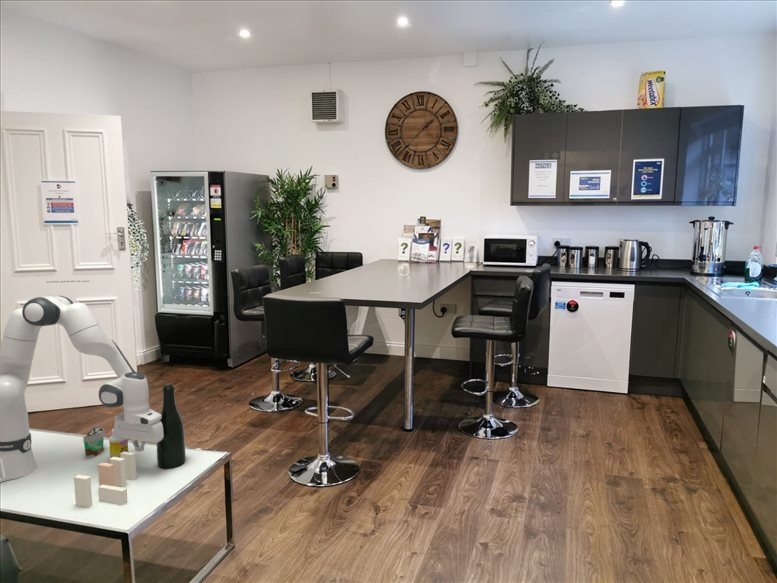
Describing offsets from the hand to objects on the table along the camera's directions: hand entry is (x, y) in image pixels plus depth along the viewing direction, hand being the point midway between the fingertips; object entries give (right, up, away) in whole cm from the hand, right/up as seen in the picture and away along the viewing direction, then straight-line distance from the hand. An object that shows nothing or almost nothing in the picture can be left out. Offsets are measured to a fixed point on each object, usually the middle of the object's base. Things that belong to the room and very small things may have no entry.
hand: (139, 450), depth 220 cm
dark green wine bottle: (+9, -8, +7) cm, 14 cm away
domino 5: (-2, -9, -4) cm, 10 cm away
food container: (-25, -7, +17) cm, 31 cm away
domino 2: (-4, -10, -9) cm, 14 cm away
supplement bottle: (-13, -7, +12) cm, 19 cm away
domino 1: (-8, -12, -24) cm, 28 cm away
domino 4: (-5, -9, -20) cm, 23 cm away
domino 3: (-5, -11, -14) cm, 18 cm away
